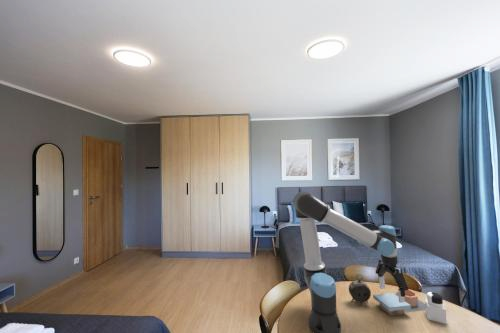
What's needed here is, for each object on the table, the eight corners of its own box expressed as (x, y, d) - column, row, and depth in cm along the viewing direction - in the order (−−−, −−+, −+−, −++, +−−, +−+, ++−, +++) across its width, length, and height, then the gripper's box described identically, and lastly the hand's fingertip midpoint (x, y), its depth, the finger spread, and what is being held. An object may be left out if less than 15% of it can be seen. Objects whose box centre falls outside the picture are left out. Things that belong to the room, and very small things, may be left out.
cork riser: (390, 316, 112) (390, 308, 112) (379, 307, 120) (379, 299, 120) (404, 314, 113) (404, 306, 113) (392, 305, 121) (392, 298, 121)
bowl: (406, 308, 118) (406, 298, 118) (392, 298, 128) (392, 288, 128) (422, 306, 119) (421, 296, 120) (407, 296, 129) (407, 287, 129)
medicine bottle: (443, 316, 111) (441, 292, 112) (447, 324, 105) (445, 299, 106) (425, 312, 115) (424, 289, 115) (428, 320, 109) (426, 295, 109)
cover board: (389, 311, 110) (389, 307, 110) (373, 297, 122) (373, 294, 122) (410, 308, 112) (410, 305, 112) (392, 295, 124) (392, 292, 124)
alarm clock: (368, 300, 126) (367, 272, 127) (372, 306, 121) (371, 276, 122) (348, 300, 128) (347, 272, 128) (352, 305, 122) (350, 276, 123)
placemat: (406, 313, 115) (406, 312, 115) (384, 296, 130) (383, 295, 130) (433, 309, 117) (433, 309, 117) (407, 293, 132) (407, 293, 132)
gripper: (415, 263, 106) (418, 307, 105) (378, 246, 131) (381, 282, 130) (401, 264, 105) (404, 309, 104) (367, 247, 130) (369, 284, 129)
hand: (391, 294), depth 117 cm, fingers open, 13 cm apart
